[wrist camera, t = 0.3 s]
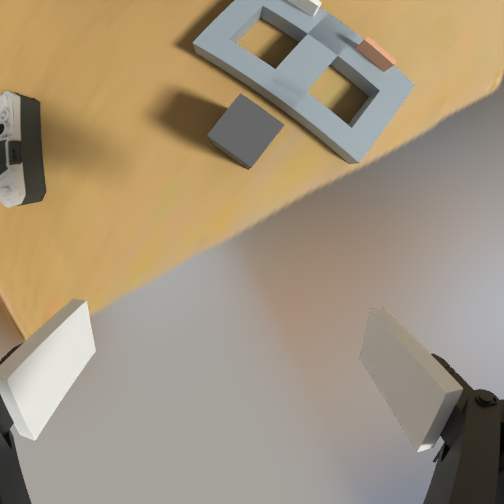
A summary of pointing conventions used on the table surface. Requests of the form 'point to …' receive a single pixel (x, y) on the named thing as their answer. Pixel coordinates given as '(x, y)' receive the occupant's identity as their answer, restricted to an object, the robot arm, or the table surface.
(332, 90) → the table surface
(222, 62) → the socket block
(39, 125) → the camera
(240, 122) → the plug
